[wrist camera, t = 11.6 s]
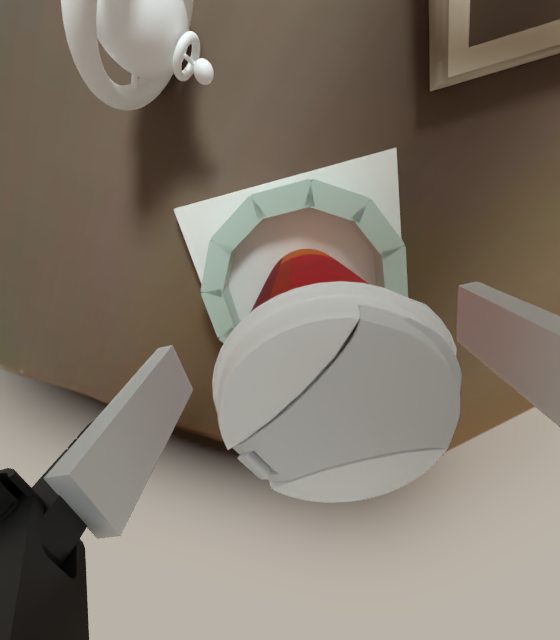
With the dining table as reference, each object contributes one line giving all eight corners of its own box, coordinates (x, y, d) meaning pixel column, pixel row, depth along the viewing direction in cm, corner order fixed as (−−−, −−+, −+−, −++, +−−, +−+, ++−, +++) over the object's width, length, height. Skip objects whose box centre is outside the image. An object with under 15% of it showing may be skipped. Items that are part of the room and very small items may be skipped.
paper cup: (293, 346, 22) (302, 539, 10) (234, 274, 20) (141, 402, 7) (376, 295, 20) (528, 450, 8) (322, 207, 18) (410, 219, 5)
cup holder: (178, 208, 19) (160, 209, 16) (390, 150, 17) (409, 140, 15) (239, 375, 25) (234, 397, 22) (402, 345, 23) (418, 364, 20)
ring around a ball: (176, -48, 14) (55, -321, 7) (264, 35, 15) (243, -117, 8) (119, 104, 17) (-11, 30, 9) (198, 165, 18) (136, 141, 11)
